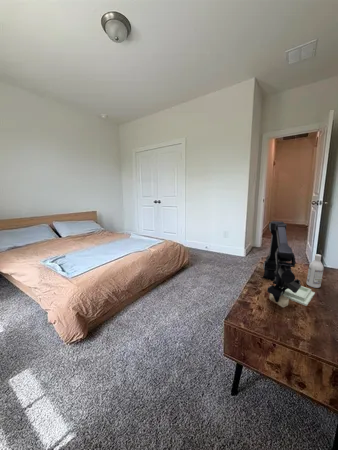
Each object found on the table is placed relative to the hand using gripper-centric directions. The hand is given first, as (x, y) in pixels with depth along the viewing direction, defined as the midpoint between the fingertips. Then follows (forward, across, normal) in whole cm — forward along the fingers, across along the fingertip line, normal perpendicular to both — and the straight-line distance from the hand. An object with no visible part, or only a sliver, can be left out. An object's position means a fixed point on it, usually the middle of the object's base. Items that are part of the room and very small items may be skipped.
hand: (278, 299), depth 101 cm
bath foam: (+2, +34, -8) cm, 35 cm away
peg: (+2, 0, 0) cm, 2 cm away
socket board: (+1, +15, -3) cm, 15 cm away
